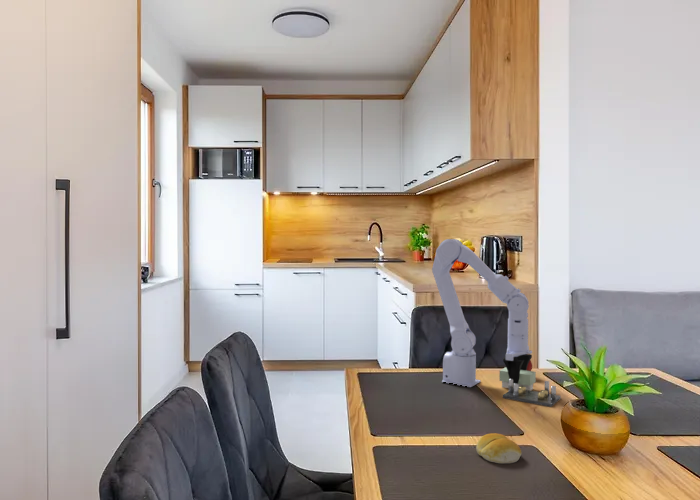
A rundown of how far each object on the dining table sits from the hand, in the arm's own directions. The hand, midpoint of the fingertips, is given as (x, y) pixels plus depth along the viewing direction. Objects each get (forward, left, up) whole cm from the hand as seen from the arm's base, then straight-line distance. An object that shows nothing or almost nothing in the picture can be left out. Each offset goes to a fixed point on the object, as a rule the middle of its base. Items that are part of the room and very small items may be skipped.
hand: (517, 380), depth 153 cm
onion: (-3, +14, -2) cm, 14 cm away
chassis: (+7, -7, -2) cm, 10 cm away
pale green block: (0, 0, 0) cm, 0 cm away
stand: (0, 0, -2) cm, 2 cm away
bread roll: (+13, -50, -3) cm, 51 cm away
